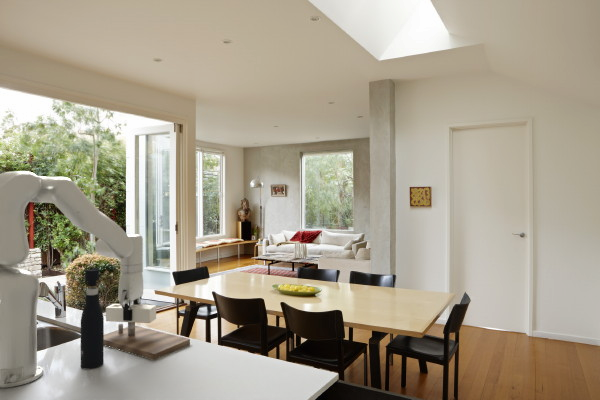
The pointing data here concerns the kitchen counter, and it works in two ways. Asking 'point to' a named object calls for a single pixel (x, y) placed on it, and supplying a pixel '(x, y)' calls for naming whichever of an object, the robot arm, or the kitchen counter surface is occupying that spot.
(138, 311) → the flange bar
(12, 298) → the robot arm
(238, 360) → the kitchen counter surface
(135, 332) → the board
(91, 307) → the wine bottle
